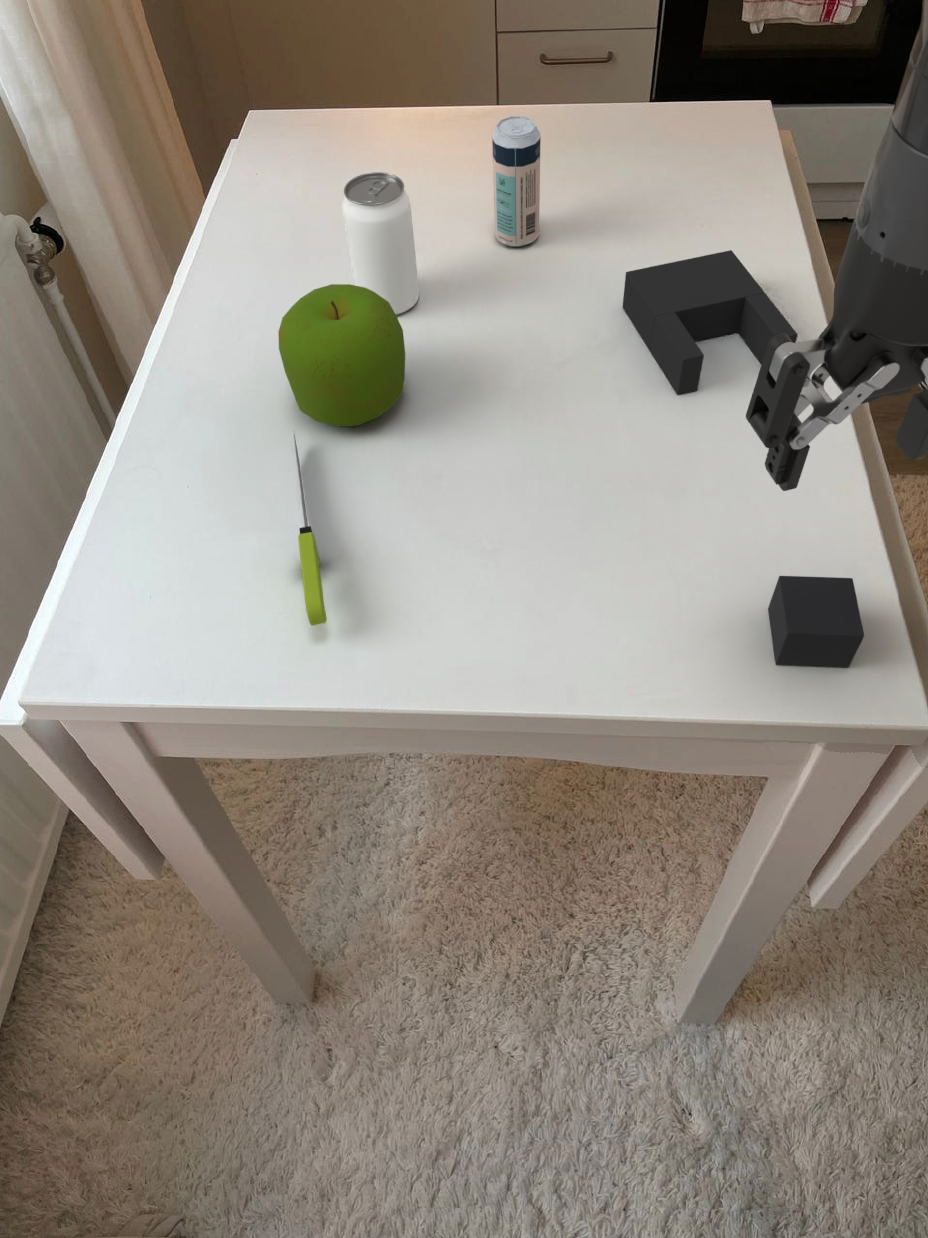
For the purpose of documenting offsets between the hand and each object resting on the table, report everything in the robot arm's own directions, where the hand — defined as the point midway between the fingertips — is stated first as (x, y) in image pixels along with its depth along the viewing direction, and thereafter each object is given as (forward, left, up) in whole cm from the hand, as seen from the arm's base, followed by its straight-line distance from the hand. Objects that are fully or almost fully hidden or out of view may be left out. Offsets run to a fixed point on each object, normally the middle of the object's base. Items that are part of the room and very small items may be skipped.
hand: (845, 465), depth 59 cm
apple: (+43, -10, -16) cm, 47 cm away
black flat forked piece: (+15, -30, -16) cm, 38 cm away
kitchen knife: (+38, +6, -16) cm, 42 cm away
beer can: (+39, -40, -16) cm, 58 cm away
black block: (-2, +1, -16) cm, 16 cm away
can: (+47, -25, -16) cm, 55 cm away
